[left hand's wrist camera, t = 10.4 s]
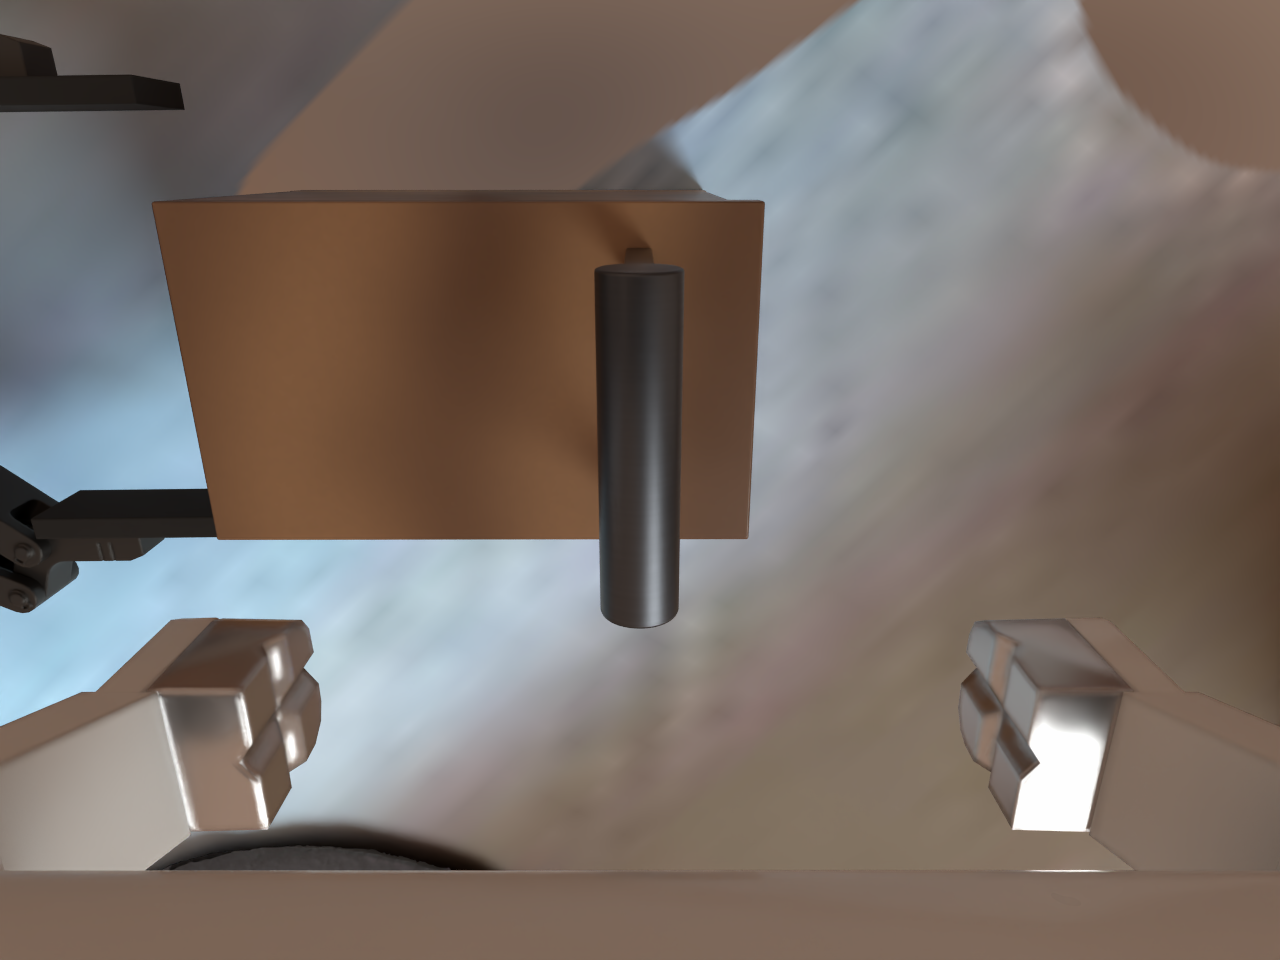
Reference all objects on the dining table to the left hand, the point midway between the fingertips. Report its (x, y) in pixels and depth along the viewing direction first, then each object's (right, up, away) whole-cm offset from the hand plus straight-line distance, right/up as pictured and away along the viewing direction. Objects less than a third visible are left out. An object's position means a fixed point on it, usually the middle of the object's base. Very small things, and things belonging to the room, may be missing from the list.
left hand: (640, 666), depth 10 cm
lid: (-5, +5, +15) cm, 16 cm away
